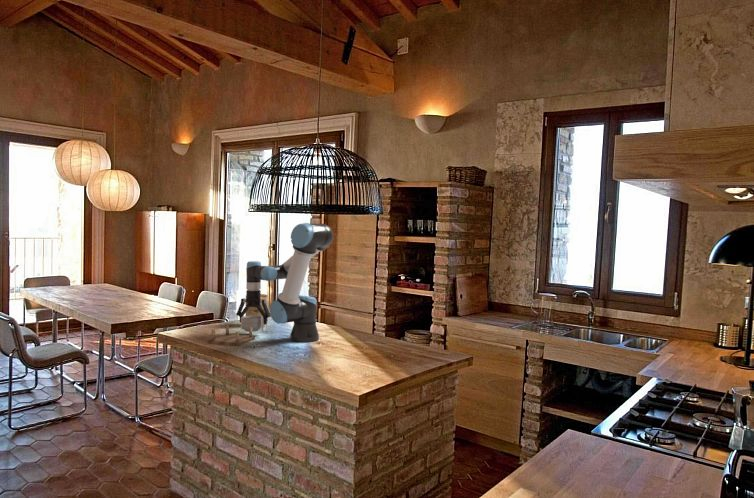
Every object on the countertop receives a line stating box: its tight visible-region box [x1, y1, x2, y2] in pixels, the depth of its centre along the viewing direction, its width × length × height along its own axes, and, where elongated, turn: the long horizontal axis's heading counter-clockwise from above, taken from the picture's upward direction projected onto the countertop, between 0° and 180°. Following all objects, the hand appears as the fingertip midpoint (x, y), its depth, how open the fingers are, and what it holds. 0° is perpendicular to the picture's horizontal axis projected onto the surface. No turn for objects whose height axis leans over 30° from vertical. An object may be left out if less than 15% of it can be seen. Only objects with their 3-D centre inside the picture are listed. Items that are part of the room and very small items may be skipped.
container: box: [244, 293, 269, 326], centre depth 324 cm, size 13×13×18 cm
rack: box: [207, 324, 256, 347], centre depth 283 cm, size 17×17×6 cm
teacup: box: [242, 315, 269, 333], centre depth 299 cm, size 14×11×8 cm
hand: (253, 329), depth 299 cm, fingers closed on teacup, 12 cm apart
